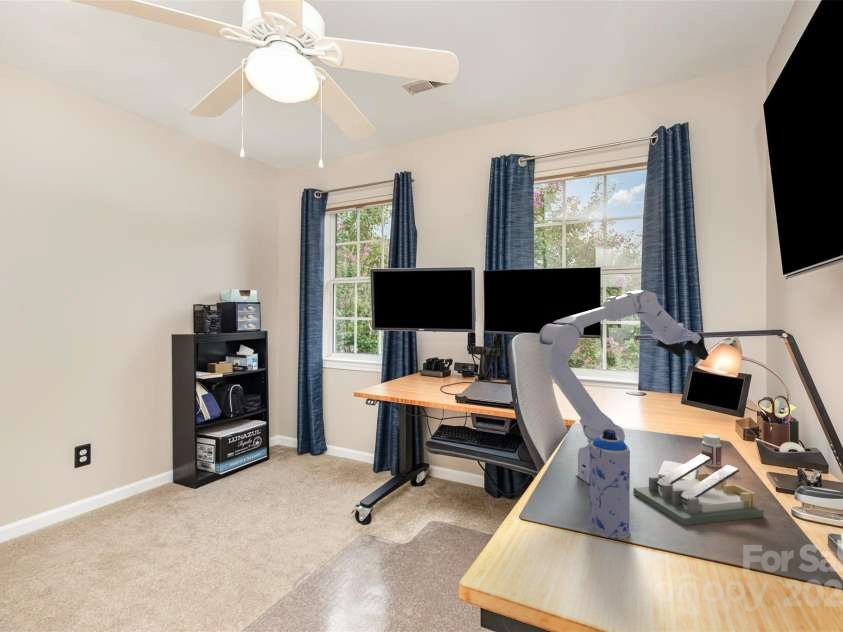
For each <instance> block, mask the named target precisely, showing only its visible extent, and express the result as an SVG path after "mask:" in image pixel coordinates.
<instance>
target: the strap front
mask: <svg viewBox="0 0 843 632" xmlns="http://www.w3.org/2000/svg"><path fill="white" fill-rule="evenodd" d="M739 472H740V470H739V468H737V467H736V466H733V465H729V464H726V465H725V466H722V467H721V468H719V469H718V470H717V471H715V472H713V473H711V474H712V475H710V476H709V477H707V478H705V479H704V480H702V481H701V482H699V483H697V484H696V485H694V486H693V487H691V488H689V489H688V490H686V491H685V492H683V493H682V494H680V495H679V496H680V498H682V499H684V500H686V501H688V498H692V497H696V498H698V497H700V496H701V495H703V494H704V493H706V492H708V491H709V490H711V489H712V488H714V487H715V486H717V485H719V484H720V483H722V482H723V481H725V480H726V481H727V480H728V479H730V478H731V477H733V476H734V475H736V474H737V473H739Z"/></svg>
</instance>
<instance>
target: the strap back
mask: <svg viewBox="0 0 843 632" xmlns="http://www.w3.org/2000/svg"><path fill="white" fill-rule="evenodd" d="M710 460H711V458H710V457H707V456H705V455H702V453H700V454H699V455H697V456H695V457H694V458H692V459H690V460H689V461H687V462H686V463H683V464H684V465H682V466H681V467H679V468H677V469H676V470H674V471H673V472H671V473H669V474H668V475H666V476H664V477H663V478H659V480H658V481H656V484H657V485H658V486H660V487H662V484H671V485H672V484H673V483H675V482H677V481H678V480H680V479H681V478H683V477H685V476H686V475H688V474H689V473H691V472H693V471H694V470H696V469H697V470H698V469H699V468H701V467H702V466H705V465H704V464H706V463H707V462H709V461H710Z"/></svg>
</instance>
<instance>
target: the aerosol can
mask: <svg viewBox="0 0 843 632" xmlns="http://www.w3.org/2000/svg"><path fill="white" fill-rule="evenodd" d="M630 472H631V451H630V448H629V446H628V445H627V444H626V443H625V440H624V441H622V440H620V439H619V438H618V437H616V433H615V431H613V430H610V429H606V430H604V431H603V435H601V436H600V437H597V438H595V439H594V441H592V442H591V444H590V466H589V484H588V485H589V487H588V488H589V489H588V490H589V492H588V494H589V496H588V499H589V500H588V509H589V510H588V521H587V525H588V528H589V529H590V530H591V531H592V533H595V534H596V535H598V536H601V537H603V538H608V539H614V540H622V539H626V538H628V537H629V536H631V528H630V498H631V496H630V493H631V492H630V490H631V489H630V488H631V487H630V486H631V484H630V483H631V479H630V478H631V476H630V475H631V473H630Z"/></svg>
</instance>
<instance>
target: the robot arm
mask: <svg viewBox="0 0 843 632" xmlns="http://www.w3.org/2000/svg"><path fill="white" fill-rule="evenodd" d="M633 315H636V316H637V317H639V318H640V320H641V321H642V322H643V323H644V324H646V326H647V327H648V328H649V329H651V331H652V332H651V334H650V337H651V338H653V339H654V340H655V341H657V342H656V346H657V347H658V348H661V349H665V350H667V351H668V352H669V353H672V354H674V355H675V356H677V357H679V358H682V357H683V355H684V354H685V353H686V351H688V352H690V353H692V354H693V355H695V356H696V357H697V358H699V359H700V360H702V361H706V359H707V358H708V357H709V351H708V350H707V349H706V345H705V344H704V335H703V334H702V333H701V332H693V331H691V330H689V329H687V328H685V324H684V323H683V322H677V321H676V320H675V319H673V317H672V316H671V315H670V314H669V313H668V312H667V311H666V310H665V309H664V308H663V307H662V305H661V304H660V303H659V301H658V297H657V294H656V293H655V292H651V291H650V290H646V289H645V290H632V291H627V292H625V293H624V294H623V295H621V296H616V295H614V296H613V295H612V296H609V297H608V300H605V301H604V302H603V303H602V305H601V307H597V308H594V309H591V310H587V311H583V312H579V313H576V314H572V315H569V316H566V317H563V318H560V319H556V320H554V321H553V323H547V324H545V325H543V327H542V328H541V330H540V331H539V335H538V339H537V343H538V345H539V346H540V350H541V356H542V363H543V367H544V369H545V370H546V371H547V373H548V374H549V376H550V377H551V378H552V381H554V383H555V385H556V386H557V387H558V388H559V390H560V391H561V392H562V394H563V395H564V396H565V398H566V399H567V401H568V402H569V404H570V405H571V407H572V408H573V409H574V410H575V411H576V414H578V416H579V421H578V422H579V423H580V424H581V427H582V432H583V435H584V436H585V437H586V439H587V443H588V444H587V445H585V446H582V447H579V449H578V452H577V472H576V473H575V475H576V476H577V477H578V478H580V479H581V480H582V481H584V482H585V483H587V484H588V485H589V466H590V444H591V442H592V441H594V439H595V438H597V437H600V436H601V435H603V431H604V430H606V429H610V430H613V431H615V433H616V437H618V438H619V439H620V440H622V441H624V442H625V439H626V435H625V431H624V429H623V428H622V427H621V426H619V425H618V424H616V423H614V422H613V420H612V419H611V418H610V417H609V416H608V415H606V414H605V413H604V412H603V411H601V409H600V407H598V405H597V403H596V402H595V400H594V399H593V398H592V397H591V395H590V393H589V392H588V391H587V389H586V388H585V386H584V385H583V384H582V383H581V381H580V380H579V378H578V377H577V376H576V374H575V372H574V371H573V370H572V368H571V367H570V366H569V360H570V359H571V357H572V355H573V354H574V352H575V350H576V348H577V347H578V346H579V345H578V344H579V343H580V339H581V338H580V336H583V335H584V329H585V328H586V327H589V326H591V325H593V324H596V323H599V322H602V321H604V320H607V321H609V322H616V321H618V320H622V319H625V318H628V317H631V316H633ZM683 342H686V343H684V345H683V346H682V345H681V344H680V343H683ZM685 350H686V351H685Z"/></svg>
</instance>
